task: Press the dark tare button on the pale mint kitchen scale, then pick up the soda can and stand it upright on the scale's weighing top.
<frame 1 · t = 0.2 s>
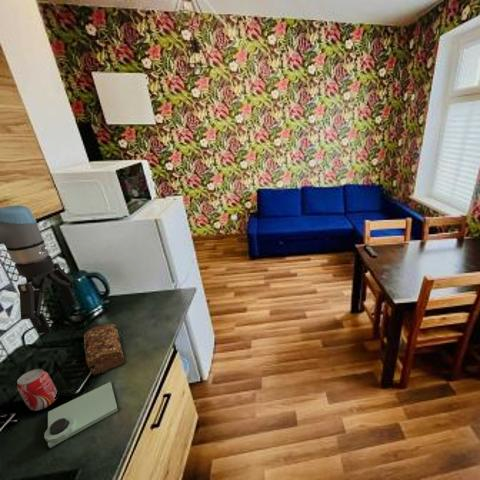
hand: (59, 317, 86), 27 cm above the kitchen counter, tool pointing down, fingers open, 13 cm apart
bread: (108, 356, 106), on the kitchen counter
scale: (83, 412, 85), on the kitchen counter
soda can: (45, 402, 88), on the kitchen counter
tare button: (59, 426, 77), point 4 cm above the kitchen counter, slide at 0.1 cm
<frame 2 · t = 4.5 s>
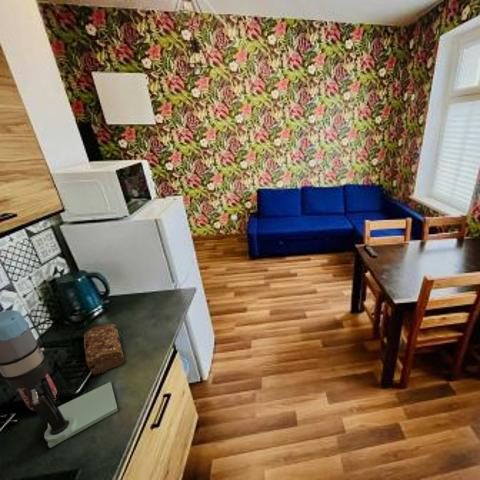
hand: (59, 425, 77), 4 cm above the kitchen counter, tool pointing down, fingers closed
tare button: (60, 428, 78), point 3 cm above the kitchen counter, slide at -0.7 cm, touching gripper
everything else where it was.
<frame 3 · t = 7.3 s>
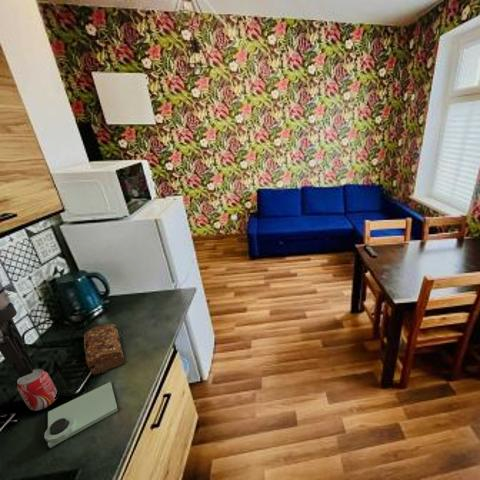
hand: (27, 370, 82), 15 cm above the kitchen counter, tool pointing down, fingers open, 3 cm apart
tare button: (59, 426, 77), point 4 cm above the kitchen counter, slide at 0.1 cm
everything else where it was.
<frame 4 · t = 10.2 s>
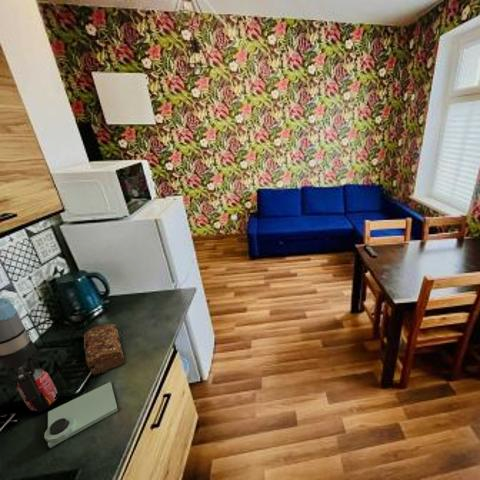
hand: (43, 400, 87), 1 cm above the kitchen counter, tool pointing down, fingers closed on soda can, 7 cm apart
soda can: (45, 402, 88), on the kitchen counter, touching gripper
everything else where it was.
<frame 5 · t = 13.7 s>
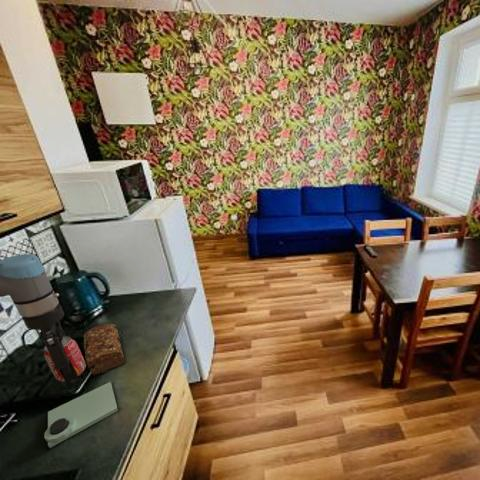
hand: (71, 371, 81), 16 cm above the kitchen counter, tool pointing down, fingers closed on soda can, 7 cm apart
soda can: (72, 374, 81), point 14 cm above the kitchen counter, touching gripper
everything else where it was.
when the fingers open (2 cm above the kitchen counter, at t = 17.1 s): soda can stays where it is, resting on scale.
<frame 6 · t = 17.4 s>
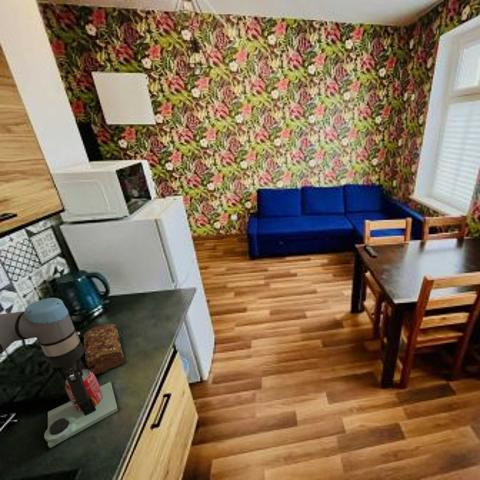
hand: (88, 400, 86), 3 cm above the kitchen counter, tool pointing down, fingers open, 10 cm apart
soda can: (90, 403, 86), point 1 cm above the kitchen counter, touching scale
everything else where it was.
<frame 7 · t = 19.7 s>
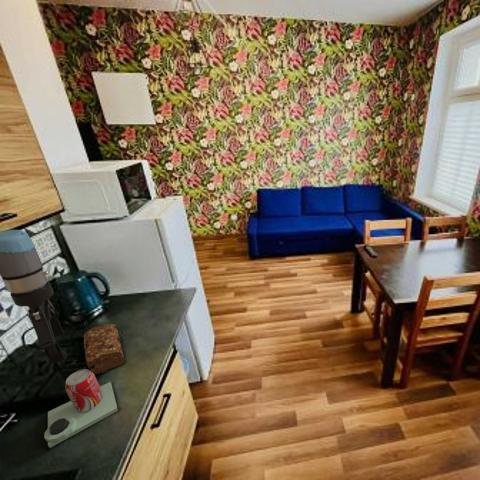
hand: (58, 347, 79), 23 cm above the kitchen counter, tool pointing down, fingers open, 13 cm apart
nothing on the kitchen counter moved.
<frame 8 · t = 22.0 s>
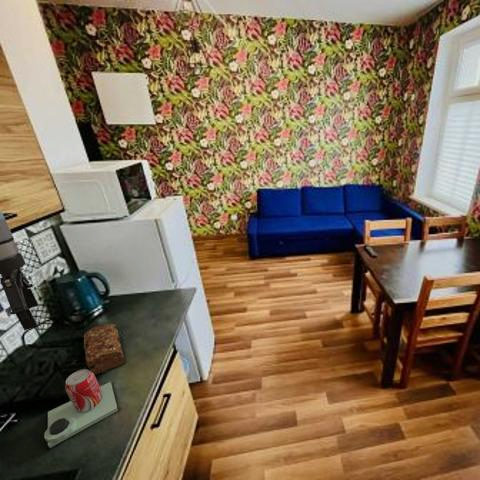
hand: (32, 316, 84), 29 cm above the kitchen counter, tool pointing down, fingers open, 13 cm apart
nothing on the kitchen counter moved.
at the end: tare button pushed in 0.8 cm at the most during the clip, back to where it started at the end; soda can inside the target area on the scale (1.4 cm from its centre), point 1.2 cm above the scale's base; soda can touching scale; soda can tilted 0° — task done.
